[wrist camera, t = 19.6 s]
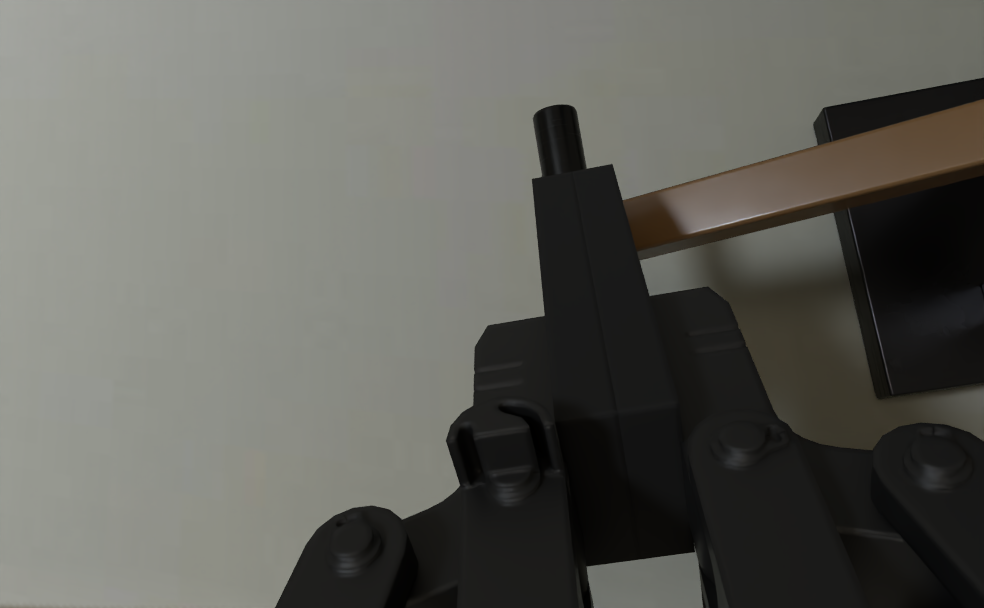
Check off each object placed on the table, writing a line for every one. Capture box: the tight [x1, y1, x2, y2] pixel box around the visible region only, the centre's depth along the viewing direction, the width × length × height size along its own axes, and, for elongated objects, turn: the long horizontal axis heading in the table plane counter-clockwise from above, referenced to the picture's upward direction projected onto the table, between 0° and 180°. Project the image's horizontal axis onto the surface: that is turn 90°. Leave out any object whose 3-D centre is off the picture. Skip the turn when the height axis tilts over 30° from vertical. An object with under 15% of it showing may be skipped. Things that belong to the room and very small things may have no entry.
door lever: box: [533, 99, 984, 260], centre depth 15 cm, size 15×6×2 cm, turn 99°
